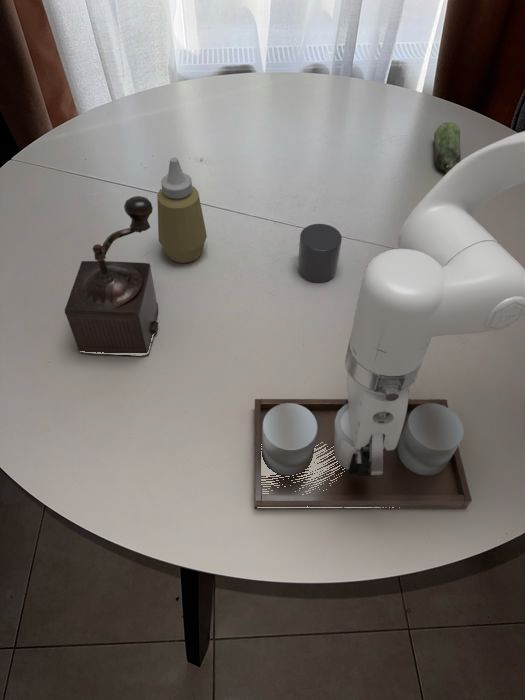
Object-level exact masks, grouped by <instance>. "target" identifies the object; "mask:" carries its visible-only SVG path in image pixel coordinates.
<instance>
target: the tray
mask: <svg viewBox="0 0 525 700" xmlns="http://www.w3.org/2000/svg"><path fill="white" fill-rule="evenodd" d="M346 400H348V398H254V508H255V507H307V506H308V507H381V508H382V507H384V508H385V507H387V508H389V507H390V508H392V507H394V508H399V507H400V508H415V509H467V508H468V507H469V505H470V504H471V503H472V496H471V493H470V489H469V485H468V481H467V480H468V479H467V477H466V472H465V469H464V464H463V460H462V457H461V453H460V449H459V446H460V444H461V442H462V441H463V438H464V433H465V431H464V425H463V422H462V420H461V419H460V417H459V415H457V413H455V411H453V410H452V409H451V408H449V404H448V400H447V399H435V398H434V399H433V398H431V399H429V398H428V399H426V398H425V399H424V398H422V399H418V398H417V399H416V398H408V406H407V412H406V416H405V421H404V424H403V428H402V431H401V435H400V438H399V441H398V444H397V446H396V448H395V449H394V450H386V449H385V447H384V449H383V474H382V475H371V474H370V475H368V476H359V475H358V474H350V473H349V470H347V469H344V467H342V466H340V467H338V468H337V469H339V468H340V469H339V470H337V469H335V470H337V471H335V470H333V471H335V472H334V473H335V474H334V473H332V474H334V475H332V474H329V473H331V472H333V471H329V470H331V469H333V468H335V467H337V466H339V465H340V464H339V463H338V462H337V463H338V464H337V463H335V464H334V465H335V466H334V465H332V466H334V467H332V466H330V467H332V468H330V467H329V468H330V469H329V470H327V471H329V472H327V471H325V472H327V473H325V472H323V473H325V474H323V475H321V476H323V477H321V476H319V477H321V478H319V477H316V478H318V479H317V480H320V479H323V478H325V477H328V476H330V475H332V476H330V477H328V478H326V479H324V480H326V481H324V480H322V481H324V482H322V481H319V482H322V483H320V484H322V485H320V484H317V485H319V486H317V485H313V484H316V483H319V482H316V483H311V482H315V481H317V480H314V481H311V482H308V483H311V484H308V483H303V482H307V481H310V480H305V479H308V478H311V477H307V478H304V479H300V480H295V479H299V478H303V477H306V476H303V477H297V476H301V475H304V474H308V473H302V472H305V471H309V470H305V469H307V468H309V467H308V466H309V465H310V463H311V461H312V458H313V454H314V453H316V452H318V451H320V450H322V449H324V448H325V447H326V450H328V449H330V448H331V447H333V446H334V431H335V419H336V416H337V413H338V411H339V410H340V409H341V408H342V407H343V406H344V405H345V404H346ZM321 442H323V443H321ZM320 443H321V444H320ZM261 444H262V445H261ZM318 444H319V445H318ZM324 444H327V445H325V446H324V447H322V448H321V449H319V450H317V451H315V452H314V448H316V449H317V448H319V447H321V446H323V445H324ZM316 445H318V446H316ZM261 446H262V447H261ZM315 446H316V447H315ZM327 446H328V447H327ZM261 448H262V450H261ZM326 450H325V451H326ZM332 450H334V447H333V448H331V449H330V450H328V451H327V452H325V453H324V454H322V455H320V456H318V457H317V458H319V457H321V456H323V455H325V454H327V453H329V452H330V451H332ZM261 451H262V457H263V460H264V462H265V464H266V465H267V467H268V468H269V469H271V470H272V471H273V472H275V473H277V474H276V475H281V476H279V477H284V478H279V477H268V478H261V477H266V476H261ZM323 452H324V451H323ZM323 452H321V453H323ZM321 453H320V454H321ZM333 453H334V451H333V452H332V453H331V454H333ZM331 454H329V455H331ZM318 455H319V454H318ZM329 455H328V456H329ZM316 456H317V455H316ZM333 456H335V454H333V455H331V456H329V457H328V458H326V457H327V456H326V457H324V458H326V459H324V458H322V459H324V460H323V461H321V462H319V463H322V462H324V461H326V460H328V459H330V458H332V457H333ZM317 458H316V459H317ZM322 459H320V460H322ZM334 459H335V458H333V459H331V460H330V461H332V460H334ZM330 461H328V462H330ZM336 461H337V460H334V461H332V462H330V463H328V462H327V463H328V464H327V465H325V466H323V467H326V466H328V465H330V464H332V463H334V462H336ZM314 463H315V462H314ZM319 463H317V464H319ZM325 464H326V463H325ZM336 464H337V465H336ZM323 465H324V464H323ZM310 467H311V466H310ZM323 467H321V468H323ZM341 467H342V468H341ZM321 468H319V469H321ZM319 469H317V470H319ZM327 469H328V468H327ZM342 469H344V470H342ZM315 471H316V470H315ZM322 471H323V470H322ZM344 471H345V472H344ZM312 472H313V471H312ZM320 472H321V471H320ZM342 472H343V473H342ZM299 473H301V474H299ZM310 473H311V472H310ZM317 473H318V472H317ZM340 473H342V474H340ZM296 474H298V475H296ZM314 474H315V473H314ZM321 474H322V473H321ZM326 474H329V475H326ZM338 474H339V475H338ZM276 475H270V476H276ZM292 475H294V476H292ZM310 475H313V473H312V474H310ZM310 475H307V476H310ZM319 475H320V474H319ZM324 475H325V476H324ZM336 475H337V476H336ZM341 475H342V476H341ZM285 476H290V477H285ZM334 476H335V477H334ZM339 476H340V477H339ZM293 477H294V478H293ZM337 477H338V478H337ZM272 478H278V479H273V480H266V481H275V482H272V483H278V484H274V485H280V486H274V485H261V484H271V483H261V482H266V481H261V479H272ZM288 478H289V479H288ZM316 478H314V479H316ZM329 478H330V479H329ZM335 478H337V479H335ZM283 479H284V480H283ZM327 479H328V480H327ZM333 479H335V480H333ZM276 480H279V481H276ZM291 480H293V481H291ZM301 480H303V481H301ZM311 480H313V479H311ZM330 480H333V481H330ZM336 480H337V481H336ZM297 481H300V482H297ZM334 481H335V482H334ZM279 482H280V483H279ZM293 482H296V483H293ZM332 482H333V483H332ZM323 483H324V484H323ZM329 483H331V484H329ZM282 484H283V485H282ZM305 484H308V485H305ZM290 485H291V486H290ZM301 485H305V486H301ZM309 485H310V486H309ZM311 485H313V486H311ZM330 485H331V486H330ZM263 486H271V487H263ZM284 486H286V487H284ZM306 486H307V487H306ZM314 486H317V487H314ZM277 487H279V488H277ZM302 487H304V488H302ZM311 487H314V488H311ZM318 487H319V488H318ZM268 488H270V489H268ZM299 488H301V489H299ZM309 488H311V489H309ZM315 488H316V489H315ZM262 489H267V490H262ZM312 489H314V490H312ZM319 489H320V490H319ZM326 489H327V490H326ZM271 490H273V491H271ZM299 490H300V491H299ZM308 490H311V491H308ZM323 490H324V491H323ZM262 491H269V492H262ZM295 491H296V492H295ZM305 491H308V492H305ZM309 492H311V493H309ZM262 493H269V494H262ZM306 493H308V494H306ZM302 494H304V495H302Z"/></svg>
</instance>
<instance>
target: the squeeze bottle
mask: <svg viewBox="0 0 525 700" xmlns="http://www.w3.org/2000/svg"><path fill="white" fill-rule="evenodd" d="M168 165H169V166H168V173H167V174H166V175H165V176H163V177H162V178H161V180H160V183H161V184H160V185H161V189H159V191H158V193H157V196H156V198H157V199H156V200H157V230H158V231H157V232H158V242H159V243H160V246H161V247H162V249H163V250H164V252H165V253H166V255H167V257H168V258H169V259H170V260H171V261H173V262H174V263H178V264H179V263H180V264H187V263H188V264H189V263H191V262H195V261H196V260H197V259H198V258H199V257H200V256H201V254H202V252H203V249H204V246H205V243H206V241H207V237H208V236H207V229H206V224H205V219H204V214H203V209H202V204H201V199H200V194H199V190H198V189H197V188H196V187H195V186H193V181H192V178H191V176H189V175H190V174H189V175H188V174H186V173H184V171H183V170H182V167H181V163H180V161H179V159H178V158H177V157H171V158H170V160H169V164H168Z"/></svg>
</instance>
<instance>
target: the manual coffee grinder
mask: <svg viewBox="0 0 525 700" xmlns="http://www.w3.org/2000/svg"><path fill="white" fill-rule="evenodd" d="M123 208H124V212H125V214H127V216H129V218H130V219H131V222H130V225H129V227H128V228H124V229H123V228H122V229H120V230H117V231H115V232H113V233H111V234H110V235H108V236H107V237H106V239H105V240H104V242H103V243H102V245H101V244H97V243H96V244H94V245H93V246H92V251H93V254H94V260H81V262H80V265H79V268H78V271H77V273H76V277H75V279H74V283H73V285H72V287H71V290H70V292H69V296H68V300H67V303H66V305H65V307H64V314H65V317H66V319H67V322H68V324H69V327H70V329H71V332H72V335H73V337H74V340H75V344H76V346H77V349H78V352H79V351H85V352H96V353H97V352H101V353H102V352H104V353H147V352H148V350H149V346H150V343H151V338H152V335H153V334H154V333H156V334H157V333H158V330H159V321H157V322H156V318H157V319H158V317H157V316H159V304H158V300H157V295H156V289H155V284H154V280H153V274H152V268H151V266H152V265H151V263H150V262H137V261H136V262H135V261H134V262H132V261H111V260H109V261H108V260H106V259H107V258H106V257H107V256H106V255H107V253H108V252H109V249H110V248H111V246H112V244H113V243H114V242H115V241H116V240H118V239H120V238H122V237H126V236H129V235H131V234H134V233H142V232H146V231H147V230H149V229H150V228H151V225H150V223H149V217H150V215H151V214H152V213H153V210H154V209H153V208H154V207H153V205H152V202H151V201H150V200H149V199H148V197H144V196H140V195H137V196H136V195H135V196H132V197H130V198H128V199H126V200H125V203H124V206H123Z"/></svg>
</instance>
